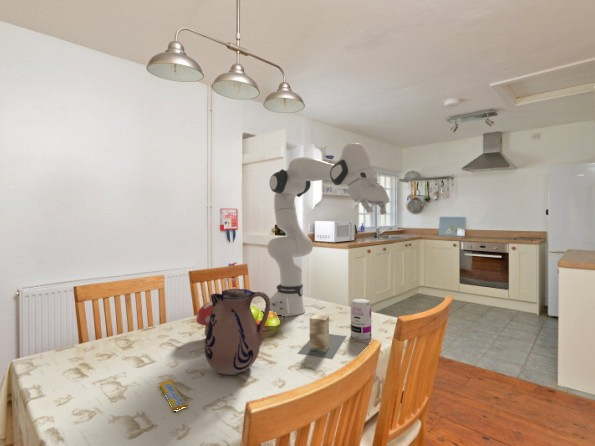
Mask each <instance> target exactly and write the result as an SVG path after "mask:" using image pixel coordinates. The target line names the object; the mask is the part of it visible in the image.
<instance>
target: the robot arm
mask: <svg viewBox="0 0 595 446" xmlns="http://www.w3.org/2000/svg"><path fill="white" fill-rule="evenodd" d="M328 180H329V181H330V180H331V182H332V183H333V185H335V186H338V187H348V192H349V193H350V194H349V195H350V197H351V199H352V200H353V201H354V202H355V203H360V204H361V205H362V207H363V208H364V210H365V211H366V213H367V214H371V213H373V212H374V211H373V206H371V205H377V206H378V207H379V208H380V210H379V212H380V215H386V214H387V210H386V205H387V204H389V203H390V197H389V195H388V193H387V191H386V189H385V187H384V186H383V185H381V184H380V183H378V178H377V175H376V173H375V169H374V168H373V166H372V165H371V159H370V157H369V155H368V153H367V150H366V148H365V147H364V145H362V143H360V142H359V143H358V142H352V143H348V144H346V145H345V146H344V147H343V148H342V151H341V156H340V157H339V159H338V160H337V162H336V163H334V164H333V163H329V162H327V161H323V160H321V159H317V158H313V157H308V156H303V157H302V156H301V157H296V158H293V159H292V160H291V161H290V162H289V164H288V167H287V169H286V170H285V169H280V170H279V171H277V172H274V173H273V174H272V175H271V176H270V179H269V187H270V190H271V191H272V192H273V193H275V194H274V198H273V199H274V201H273V203H274V204H273V205H274V206H273V208H274V214H275V221H276V223H275V224H276V226H277V228H278V229H279V230H280V231H282V232H283V233H285V235H286V236H279V237H275V238H272V239H270V240H269V242H268V244H267V253H268V255H269V256H270V257H271V258H272V259H273V260H274V261H275V262H276V264H277V266H278V268H279V275H280V277H279V280H280V283H279V284H278V285H277V286H276V288H275V289H277V291H276V292H274V293H273V294H272V295H271V296H270V297H269V300H270V311H273V312H276V313H277V314H278V315H283V316H285V317H292V316H300V315H302V314H305V313H306V308H305V305H304V298H303V295H304V285H303V281H302V279H303V277H302V276H303V275H302V274H303V273H302V268H301V267H300V266H299V265H297V264H296V263H295V262H294V258H300V257H301V258H302V257H305V256H308V255H310V254H311V252H312V251H313V249H314V248H313V247H314V246H313V242H312V239H311V238H310V237H309V236H308V235H306V234H305V233H304V232H303V230H302V228H301V227H300V223H299V220H298V214H297V210H296V204H295V198H296V197H298V198H300V197H302V196H303V195H304V194H307V192H308V191H309V190H310V188H311V183H312V182H316V181H317V182H319V181H328ZM265 307H266V305H265V306H264V307H263V308H262V310H261V312H262V311H263V312H264V313H265ZM263 312H262V313H263ZM264 313H263V314H264ZM278 315H277V316H278ZM283 316H282V317H283ZM285 317H284V318H285Z"/></svg>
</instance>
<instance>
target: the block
mask: <svg viewBox="0 0 595 446" xmlns="http://www.w3.org/2000/svg"><path fill="white" fill-rule="evenodd" d="M329 318H330V317H329V316H327V315H319V314H313V315H311V317H309V340H310V351H315V352H321V353H326V352H327V350H328V349H329V334H330V319H329Z"/></svg>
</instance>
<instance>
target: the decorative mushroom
mask: <svg viewBox="0 0 595 446" xmlns="http://www.w3.org/2000/svg"><path fill="white" fill-rule="evenodd" d="M211 313H212V301H209V302H206V303H205V304H203V305H202V306H201V307H200V308H199V309H198V311H197V315H196V318H195V321H196V322H197V324H199V325H201V326H205V327H204V335H205V336H206V335H207V330H208V326H209V322H210V317H211Z"/></svg>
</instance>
